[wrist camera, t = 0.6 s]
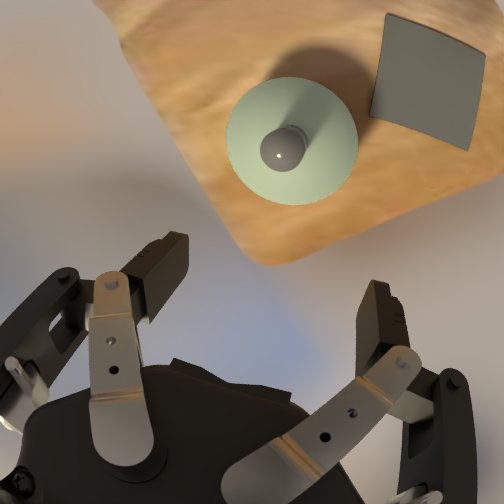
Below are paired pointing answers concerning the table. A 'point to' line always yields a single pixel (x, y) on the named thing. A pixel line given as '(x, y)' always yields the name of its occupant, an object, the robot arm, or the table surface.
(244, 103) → the lid
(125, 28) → the table surface
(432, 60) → the mat
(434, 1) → the table surface
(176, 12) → the table surface
